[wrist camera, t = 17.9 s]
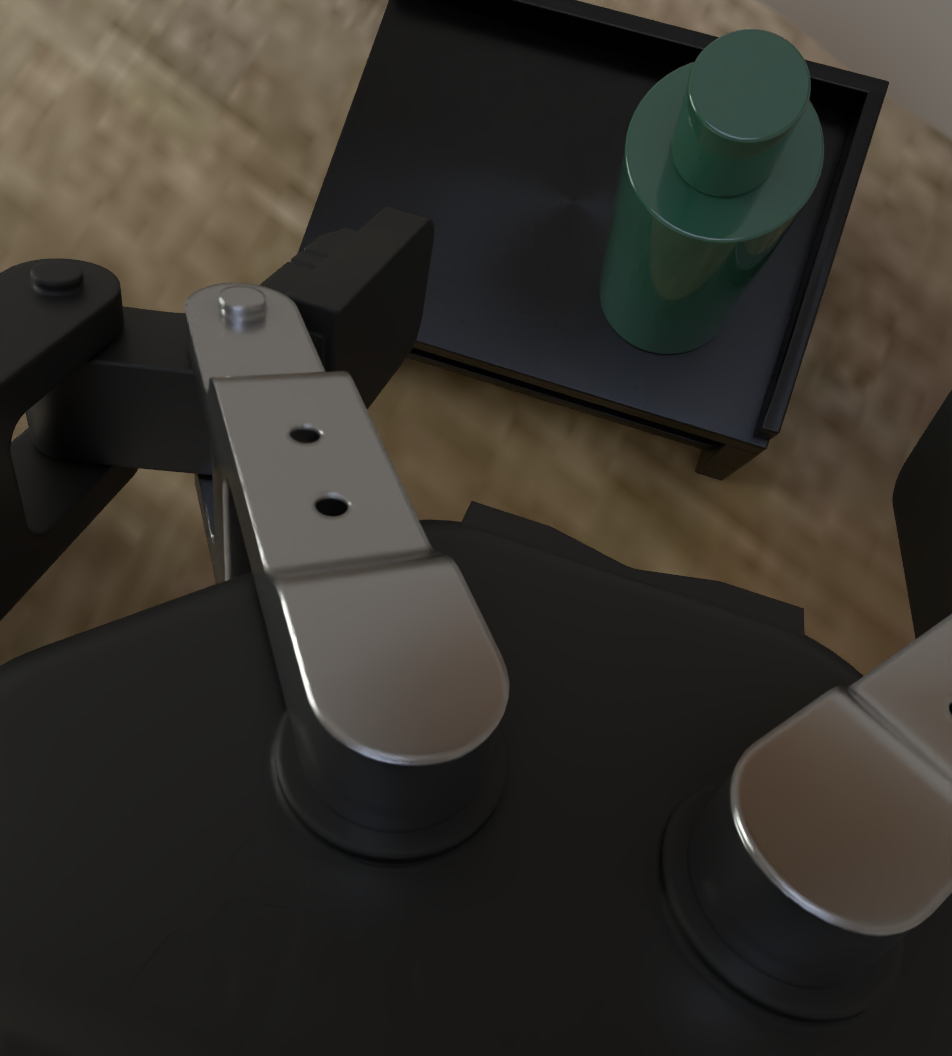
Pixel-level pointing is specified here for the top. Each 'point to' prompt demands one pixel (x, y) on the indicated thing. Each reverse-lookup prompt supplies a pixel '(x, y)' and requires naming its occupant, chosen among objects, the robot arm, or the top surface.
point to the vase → (708, 189)
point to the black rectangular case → (572, 212)
